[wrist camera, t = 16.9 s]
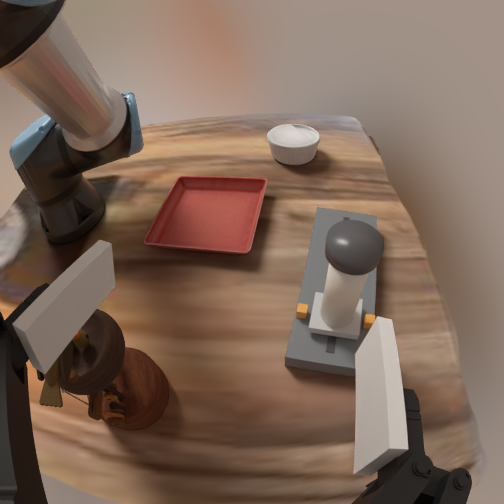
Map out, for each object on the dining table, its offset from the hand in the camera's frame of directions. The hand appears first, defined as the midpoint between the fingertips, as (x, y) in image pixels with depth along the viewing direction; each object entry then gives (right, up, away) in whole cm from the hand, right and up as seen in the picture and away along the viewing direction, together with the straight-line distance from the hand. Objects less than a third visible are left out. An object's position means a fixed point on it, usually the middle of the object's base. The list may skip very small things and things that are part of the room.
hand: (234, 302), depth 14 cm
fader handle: (+11, -6, +22) cm, 26 cm away
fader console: (+13, -3, +29) cm, 32 cm away
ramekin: (+10, +24, +53) cm, 59 cm away
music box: (-15, -15, +22) cm, 31 cm away
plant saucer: (-6, +8, +41) cm, 42 cm away
